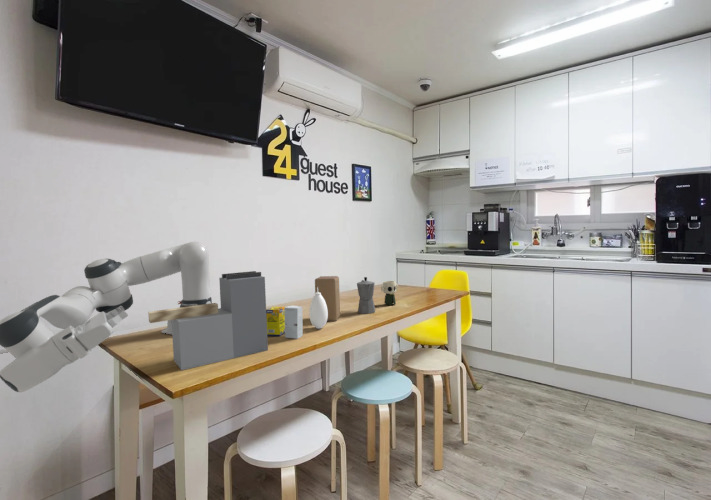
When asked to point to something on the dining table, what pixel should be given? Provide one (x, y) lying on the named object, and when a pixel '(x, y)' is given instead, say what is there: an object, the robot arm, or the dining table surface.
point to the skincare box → (293, 322)
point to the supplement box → (275, 321)
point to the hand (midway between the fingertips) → (124, 310)
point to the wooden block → (329, 294)
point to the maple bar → (182, 312)
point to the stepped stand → (225, 324)
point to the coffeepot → (366, 296)
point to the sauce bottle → (318, 311)
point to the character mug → (389, 291)
